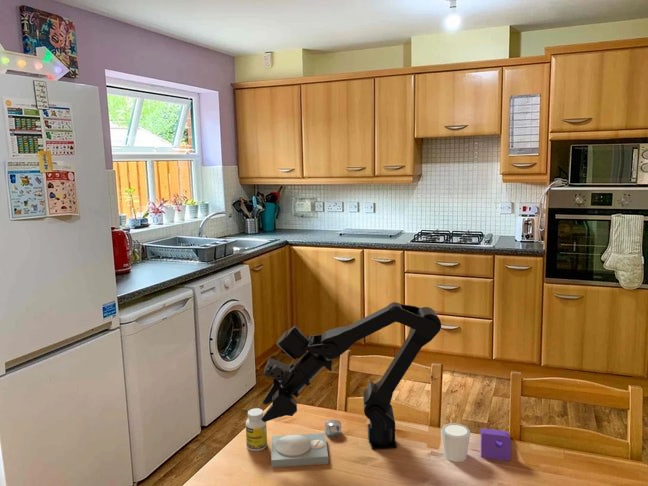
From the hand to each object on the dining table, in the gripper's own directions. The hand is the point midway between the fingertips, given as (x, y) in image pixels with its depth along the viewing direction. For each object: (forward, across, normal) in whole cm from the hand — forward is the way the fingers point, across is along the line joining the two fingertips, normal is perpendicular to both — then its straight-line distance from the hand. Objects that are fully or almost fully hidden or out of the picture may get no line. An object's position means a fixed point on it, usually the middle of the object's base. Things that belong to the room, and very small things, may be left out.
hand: (263, 411), depth 138 cm
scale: (0, +4, +13) cm, 14 cm away
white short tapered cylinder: (-27, +10, +41) cm, 50 cm away
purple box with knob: (-35, +7, +49) cm, 61 cm away
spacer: (-6, -4, +20) cm, 21 cm away
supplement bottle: (+8, 0, +6) cm, 10 cm away
